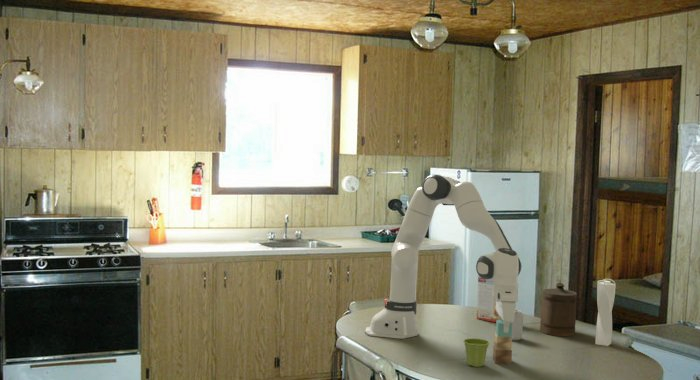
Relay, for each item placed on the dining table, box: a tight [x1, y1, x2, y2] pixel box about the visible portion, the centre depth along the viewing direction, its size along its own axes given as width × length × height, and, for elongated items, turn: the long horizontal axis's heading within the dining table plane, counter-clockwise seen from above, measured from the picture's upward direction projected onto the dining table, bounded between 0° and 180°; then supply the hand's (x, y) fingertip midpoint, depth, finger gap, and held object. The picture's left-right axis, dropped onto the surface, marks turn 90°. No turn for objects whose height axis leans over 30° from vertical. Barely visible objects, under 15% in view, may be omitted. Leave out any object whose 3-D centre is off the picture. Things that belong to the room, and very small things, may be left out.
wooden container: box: [539, 282, 578, 337], centre depth 323 cm, size 15×15×22 cm
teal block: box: [495, 320, 512, 337], centre depth 275 cm, size 5×5×5 cm
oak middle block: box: [493, 332, 513, 351], centre depth 275 cm, size 6×6×5 cm
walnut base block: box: [492, 345, 513, 365], centre depth 275 cm, size 6×6×5 cm
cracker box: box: [476, 275, 499, 323], centre depth 341 cm, size 14×6×21 cm, turn 49°
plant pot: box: [463, 337, 490, 368], centre depth 270 cm, size 9×9×9 cm
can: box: [511, 309, 524, 341], centre depth 310 cm, size 8×8×12 cm
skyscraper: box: [594, 278, 617, 347], centre depth 305 cm, size 8×8×28 cm
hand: (503, 328), depth 275 cm, fingers open, 8 cm apart
